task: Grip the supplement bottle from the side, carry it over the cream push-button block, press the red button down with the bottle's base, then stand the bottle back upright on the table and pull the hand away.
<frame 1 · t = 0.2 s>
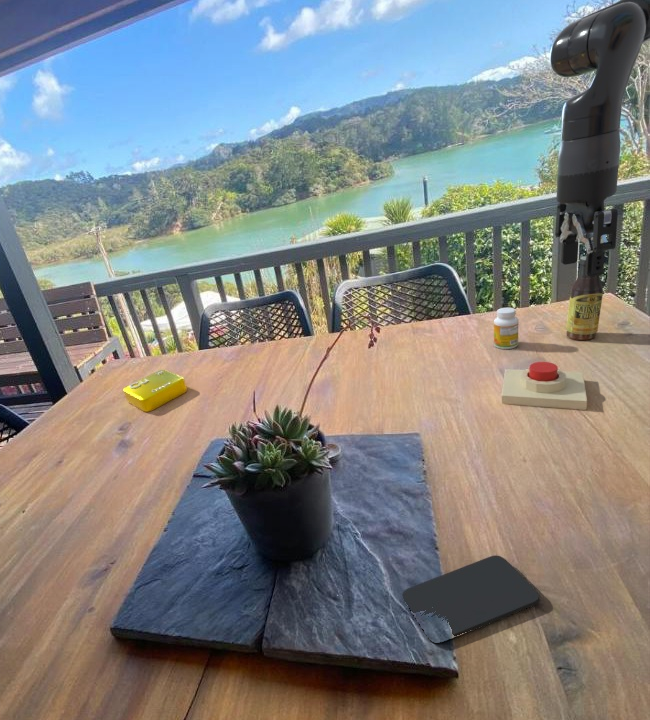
hand: (580, 269, 73), 28 cm above the table, tool pointing down, fingers open, 8 cm apart
button block: (542, 391, 91), on the table
sauce bottle: (581, 337, 108), on the table
button: (543, 372, 89), point 5 cm above the table, slide at 0.1 cm
supplement bottle: (505, 345, 113), on the table
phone: (468, 599, 55), on the table
element tile: (157, 396, 133), on the table
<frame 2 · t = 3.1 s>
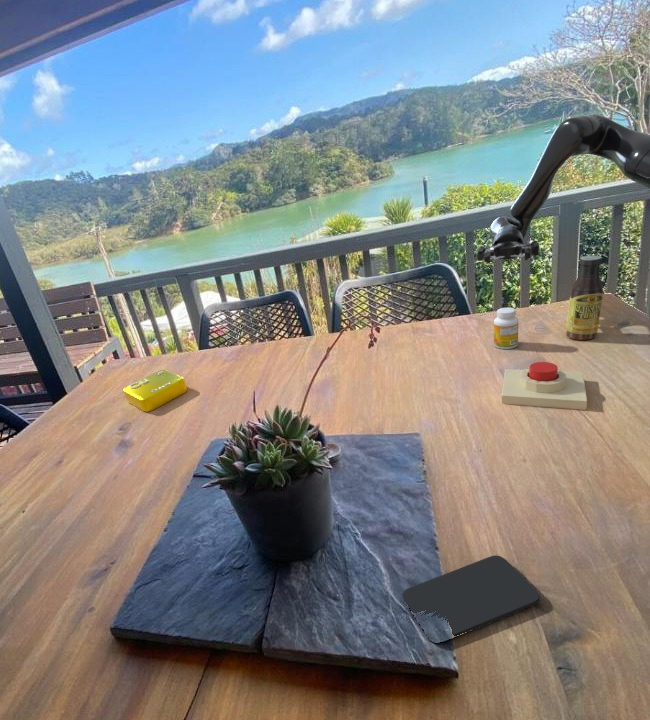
hand: (507, 258, 113), 20 cm above the table, tool horizontal, fingers open, 8 cm apart
nothing on the table moved.
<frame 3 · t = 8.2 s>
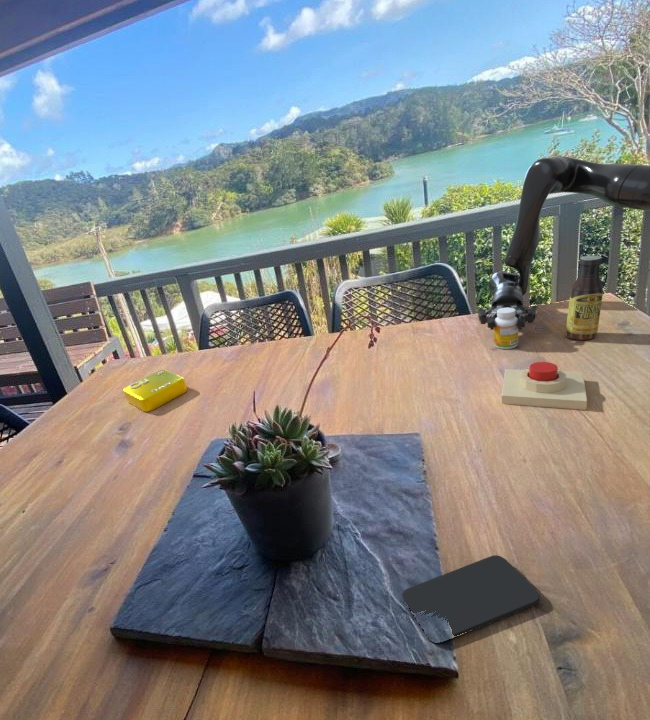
hand: (505, 325, 108), 7 cm above the table, tool horizontal, fingers closed on supplement bottle, 5 cm apart
supplement bottle: (505, 345, 113), on the table, touching gripper
everything else where it was.
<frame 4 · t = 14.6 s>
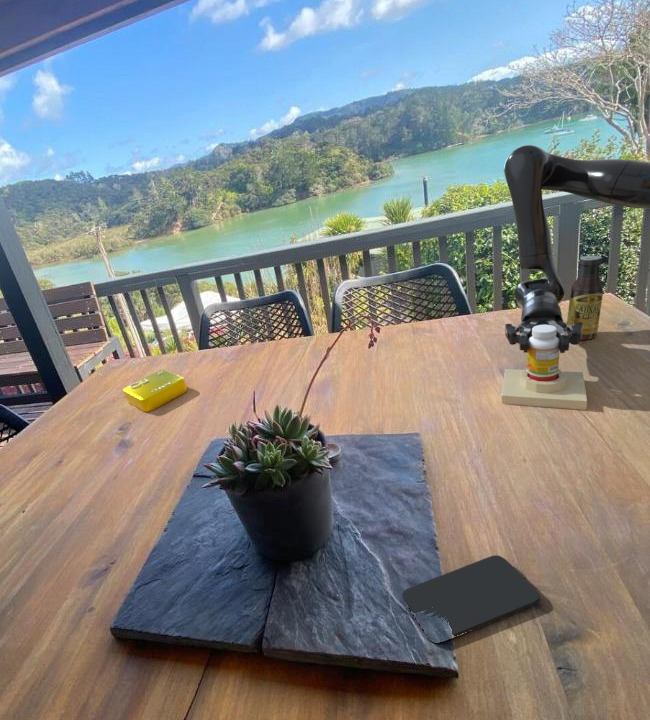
hand: (544, 348, 85), 11 cm above the table, tool horizontal, fingers closed on supplement bottle, 5 cm apart
button: (542, 377, 90), point 4 cm above the table, slide at -1.1 cm, touching supplement bottle
supplement bottle: (542, 372, 90), point 5 cm above the table, touching button, gripper
everything else where it was.
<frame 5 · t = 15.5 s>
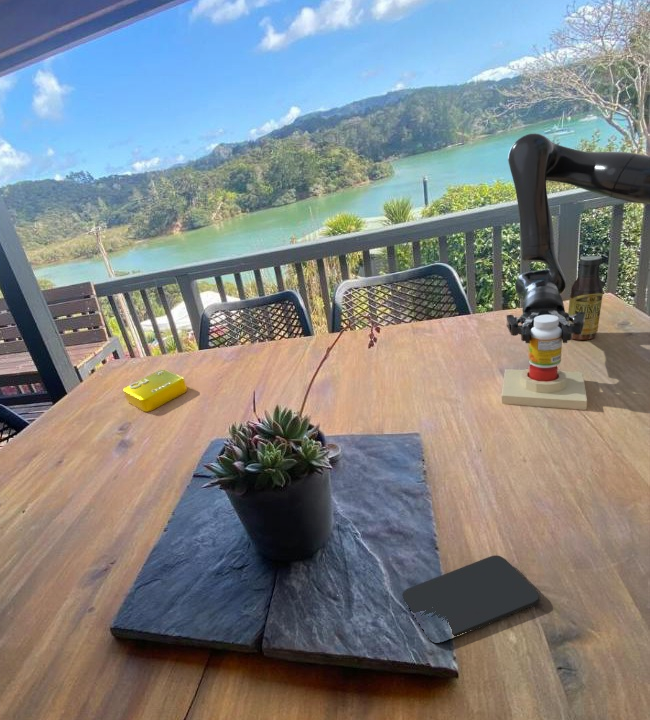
hand: (546, 338, 84), 13 cm above the table, tool horizontal, fingers closed on supplement bottle, 5 cm apart
button: (543, 371, 89), point 5 cm above the table, slide at 0.1 cm
supplement bottle: (544, 363, 89), point 7 cm above the table, touching gripper
everything else where it was.
when the fingers open (6 cm above the table, at t = 21.6 s): supplement bottle stays where it is, on the table.
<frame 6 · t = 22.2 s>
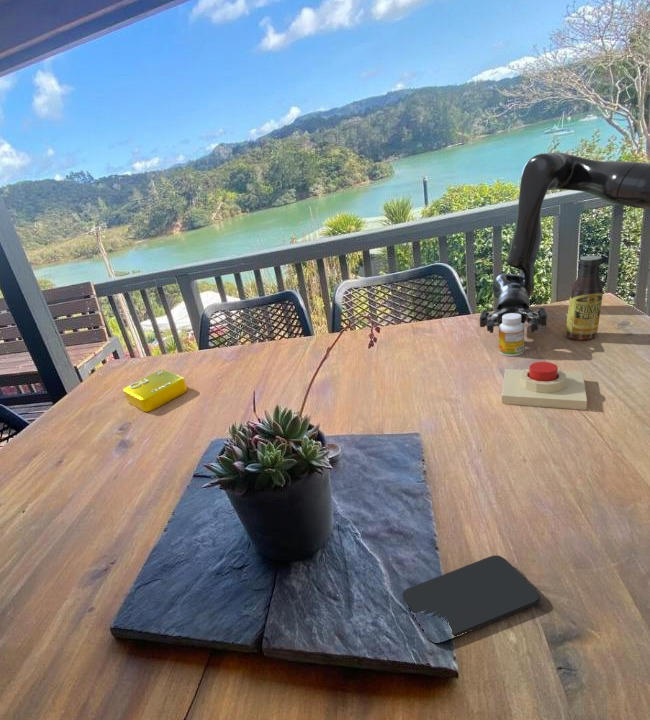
hand: (511, 328, 105), 7 cm above the table, tool horizontal, fingers open, 8 cm apart
supplement bottle: (511, 352, 109), on the table
everything else where it was.
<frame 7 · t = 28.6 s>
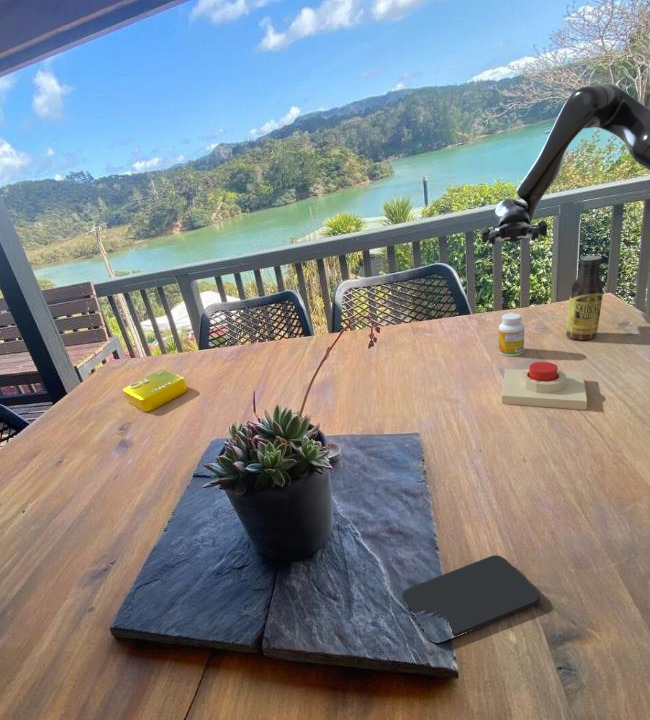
hand: (513, 238, 107), 26 cm above the table, tool horizontal, fingers open, 8 cm apart
nothing on the table moved.
at the end: button pushed in 1.1 cm at the most during the clip, back to where it started at the end; button slide at 0.1 cm; supplement bottle tilted 0° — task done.
